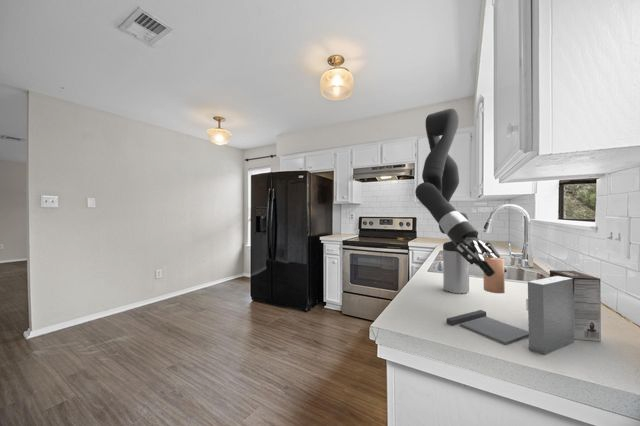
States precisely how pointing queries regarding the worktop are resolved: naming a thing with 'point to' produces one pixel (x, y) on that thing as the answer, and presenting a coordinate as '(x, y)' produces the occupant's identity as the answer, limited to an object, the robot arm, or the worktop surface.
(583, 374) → the worktop surface
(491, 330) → the charcoal mat
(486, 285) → the peach domed cylinder
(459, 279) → the robot arm
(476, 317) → the dark grey slender bar
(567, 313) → the breaker panel
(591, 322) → the coffee box
